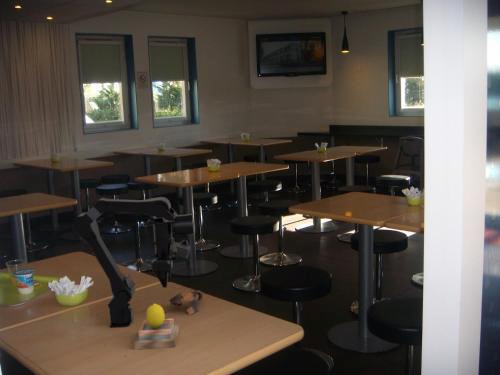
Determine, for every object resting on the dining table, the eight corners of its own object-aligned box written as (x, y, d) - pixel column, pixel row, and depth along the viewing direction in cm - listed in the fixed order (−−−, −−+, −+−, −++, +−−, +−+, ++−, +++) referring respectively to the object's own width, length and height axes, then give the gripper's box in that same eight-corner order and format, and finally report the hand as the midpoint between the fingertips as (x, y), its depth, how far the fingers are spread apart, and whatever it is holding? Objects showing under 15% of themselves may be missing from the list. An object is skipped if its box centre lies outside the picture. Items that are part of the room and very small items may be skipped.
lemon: (161, 332, 170) (159, 307, 169) (144, 332, 172) (142, 306, 170) (168, 325, 176) (166, 300, 175) (151, 324, 177) (149, 300, 176)
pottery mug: (183, 319, 191) (171, 298, 192) (174, 323, 199) (163, 302, 200) (212, 302, 197) (200, 281, 198) (202, 306, 205) (191, 286, 206)
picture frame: (134, 349, 168) (133, 334, 167) (141, 333, 180) (139, 318, 179) (175, 346, 168) (173, 331, 168) (179, 330, 180) (178, 316, 179)
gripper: (185, 242, 176) (189, 290, 178) (190, 228, 194) (193, 273, 196) (149, 244, 175) (153, 292, 178) (157, 230, 194) (161, 274, 196)
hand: (166, 282), depth 187 cm, fingers open, 9 cm apart
